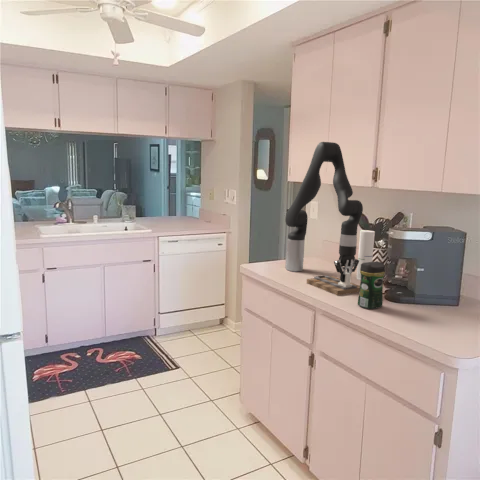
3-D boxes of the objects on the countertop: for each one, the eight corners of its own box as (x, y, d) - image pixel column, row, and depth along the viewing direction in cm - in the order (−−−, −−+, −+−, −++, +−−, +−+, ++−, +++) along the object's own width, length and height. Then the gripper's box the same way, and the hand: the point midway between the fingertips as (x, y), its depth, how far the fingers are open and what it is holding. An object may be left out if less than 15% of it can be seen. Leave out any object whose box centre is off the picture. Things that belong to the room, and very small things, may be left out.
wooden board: (306, 283, 199) (306, 277, 199) (331, 279, 207) (332, 274, 206) (337, 295, 180) (337, 289, 180) (363, 291, 188) (364, 285, 187)
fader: (337, 285, 188) (338, 272, 187) (344, 284, 190) (345, 271, 189) (345, 288, 184) (346, 274, 183) (352, 287, 186) (353, 273, 185)
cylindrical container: (371, 281, 206) (375, 232, 202) (356, 280, 208) (360, 231, 204) (369, 277, 213) (374, 230, 209) (355, 276, 215) (359, 229, 211)
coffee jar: (370, 302, 172) (374, 259, 169) (385, 307, 165) (389, 263, 162) (353, 304, 168) (357, 260, 165) (368, 310, 161) (372, 265, 158)
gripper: (353, 242, 190) (350, 278, 193) (330, 243, 184) (327, 280, 187) (365, 244, 184) (362, 281, 187) (342, 246, 177) (339, 285, 180)
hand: (345, 281), depth 187 cm, fingers closed on fader, 2 cm apart
